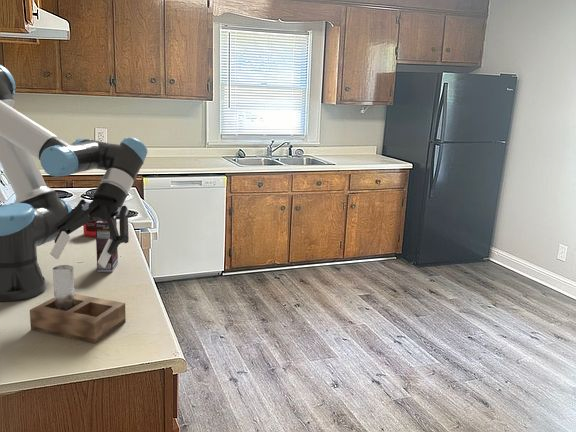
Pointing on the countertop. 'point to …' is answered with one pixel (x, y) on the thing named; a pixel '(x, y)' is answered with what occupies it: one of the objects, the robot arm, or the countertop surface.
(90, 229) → the red supplement bottle
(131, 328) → the countertop surface
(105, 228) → the supplement box
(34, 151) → the robot arm
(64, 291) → the pin
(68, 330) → the socket block
